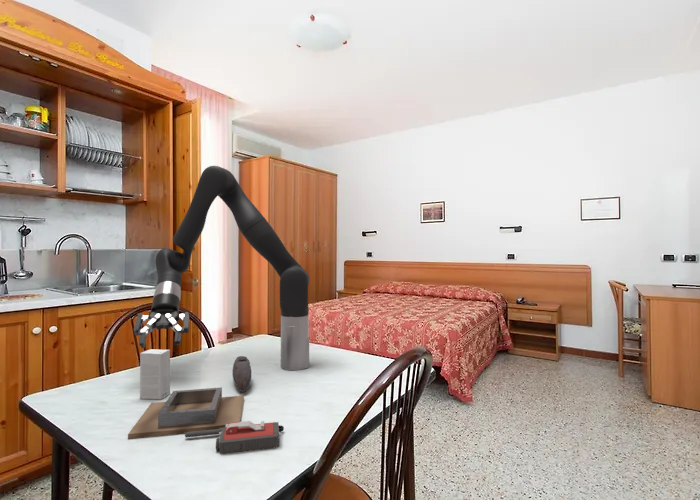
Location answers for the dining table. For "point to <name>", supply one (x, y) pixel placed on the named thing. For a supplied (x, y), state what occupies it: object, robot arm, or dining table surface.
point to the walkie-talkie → (243, 436)
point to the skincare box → (154, 374)
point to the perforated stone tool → (242, 373)
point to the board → (149, 426)
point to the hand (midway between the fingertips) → (159, 345)
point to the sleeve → (192, 416)
